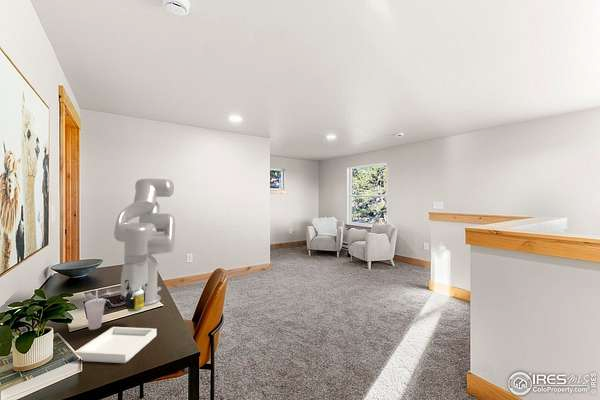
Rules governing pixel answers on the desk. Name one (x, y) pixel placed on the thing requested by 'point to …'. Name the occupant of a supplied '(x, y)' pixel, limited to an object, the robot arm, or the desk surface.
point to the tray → (116, 344)
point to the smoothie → (95, 312)
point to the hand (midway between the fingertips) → (135, 304)
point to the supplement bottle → (138, 300)
